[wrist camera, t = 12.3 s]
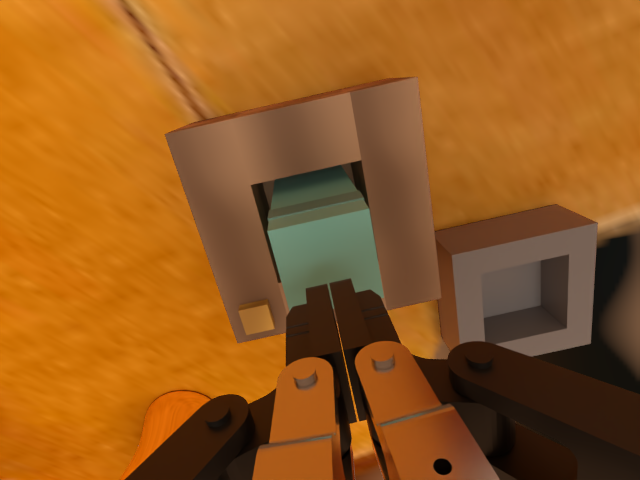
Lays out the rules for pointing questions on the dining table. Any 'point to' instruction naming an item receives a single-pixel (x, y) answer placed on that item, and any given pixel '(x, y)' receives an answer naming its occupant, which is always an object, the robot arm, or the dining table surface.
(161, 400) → the beer glass
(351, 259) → the plug
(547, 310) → the grey square frame
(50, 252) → the dining table surface
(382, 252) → the port
